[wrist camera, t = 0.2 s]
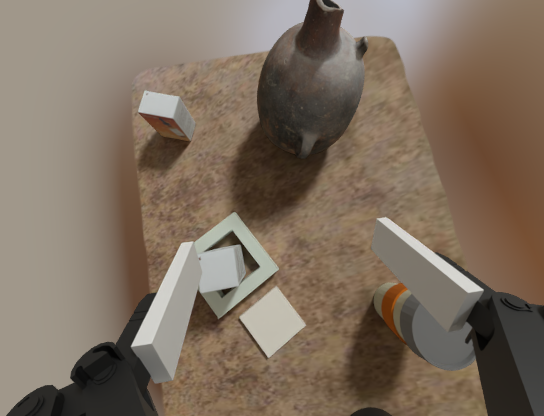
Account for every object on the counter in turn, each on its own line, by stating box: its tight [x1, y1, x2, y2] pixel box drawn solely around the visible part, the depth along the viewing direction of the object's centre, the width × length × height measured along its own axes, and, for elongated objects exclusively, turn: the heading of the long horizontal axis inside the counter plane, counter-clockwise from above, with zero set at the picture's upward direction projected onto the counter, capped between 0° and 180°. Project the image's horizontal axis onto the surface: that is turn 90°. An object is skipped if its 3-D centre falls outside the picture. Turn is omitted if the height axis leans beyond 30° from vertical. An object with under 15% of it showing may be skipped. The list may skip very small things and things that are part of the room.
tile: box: [239, 286, 306, 358], centre depth 46 cm, size 11×11×1 cm
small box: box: [138, 90, 196, 142], centre depth 48 cm, size 8×6×10 cm
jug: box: [257, 0, 368, 159], centre depth 39 cm, size 24×21×30 cm
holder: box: [194, 212, 279, 318], centre depth 47 cm, size 17×17×3 cm
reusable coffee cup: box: [374, 283, 476, 371], centre depth 40 cm, size 12×13×15 cm
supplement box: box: [197, 244, 246, 293], centre depth 42 cm, size 7×7×13 cm
